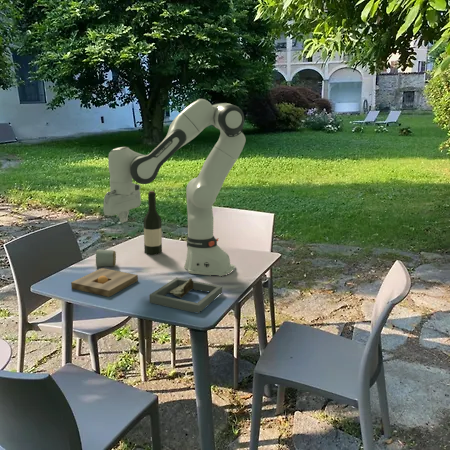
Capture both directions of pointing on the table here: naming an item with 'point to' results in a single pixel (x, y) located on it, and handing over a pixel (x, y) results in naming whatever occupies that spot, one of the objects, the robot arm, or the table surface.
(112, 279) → the board
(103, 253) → the ceramic mug
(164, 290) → the slate dish rim
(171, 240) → the table surface
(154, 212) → the wine bottle
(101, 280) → the rubber ball
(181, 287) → the rock sample
